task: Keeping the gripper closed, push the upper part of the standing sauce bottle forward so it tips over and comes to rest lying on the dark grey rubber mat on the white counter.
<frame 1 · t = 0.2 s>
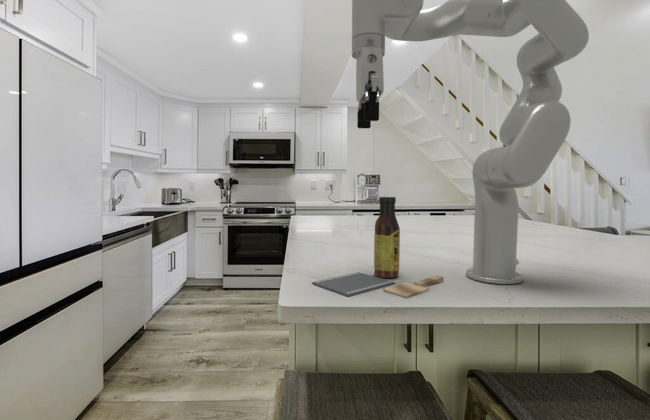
hand: (367, 124, 80), 37 cm above the countertop, tool pointing down, fingers open, 9 cm apart
mat: (353, 283, 80), on the countertop
sauce bottle: (386, 276, 87), on the countertop
turner: (416, 288, 77), on the countertop
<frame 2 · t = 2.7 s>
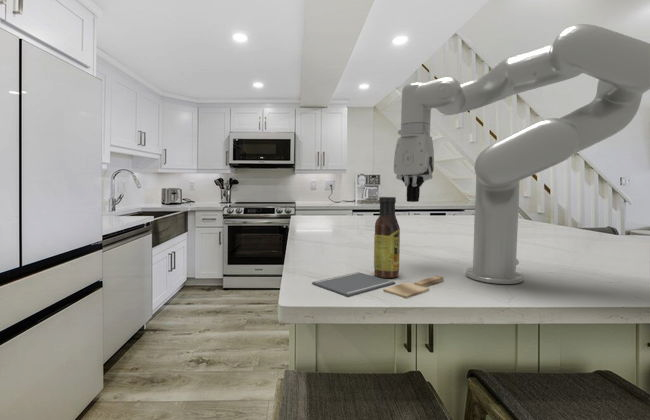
hand: (412, 201, 93), 18 cm above the countertop, tool pointing down, fingers closed
nothing on the countertop moved.
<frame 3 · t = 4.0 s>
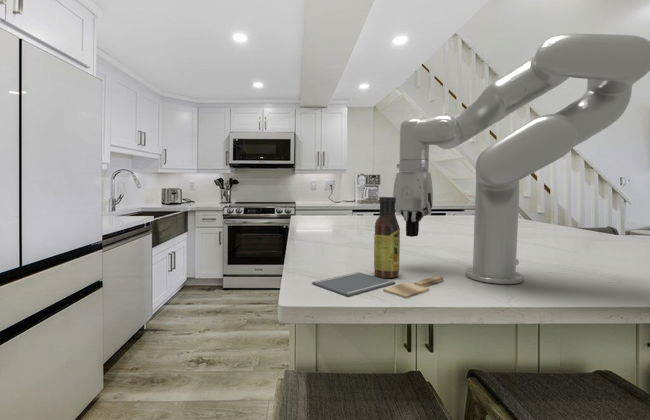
hand: (412, 235, 93), 9 cm above the countertop, tool pointing down, fingers closed
nothing on the countertop moved.
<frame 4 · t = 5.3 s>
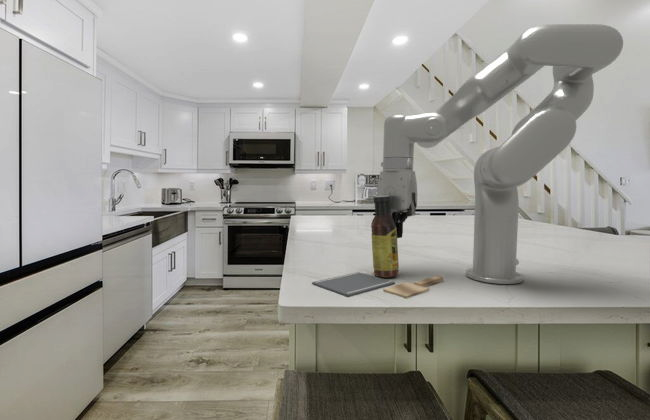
hand: (395, 237, 89), 9 cm above the countertop, tool pointing down, fingers closed
sauce bottle: (386, 275, 87), on the countertop, touching gripper
everything else where it was.
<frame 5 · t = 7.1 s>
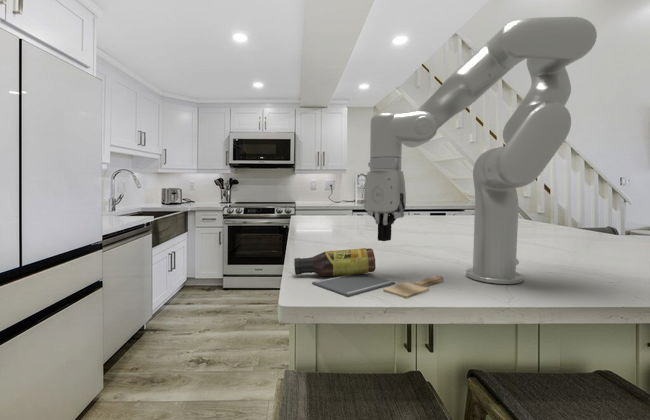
hand: (384, 240, 86), 9 cm above the countertop, tool pointing down, fingers closed
sauce bottle: (374, 259, 87), point 4 cm above the countertop, touching mat
everything else where it was.
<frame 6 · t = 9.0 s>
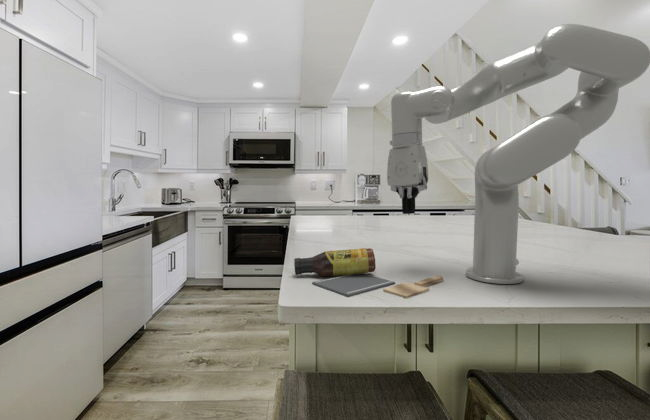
hand: (408, 213, 90), 15 cm above the countertop, tool pointing down, fingers closed
nothing on the countertop moved.
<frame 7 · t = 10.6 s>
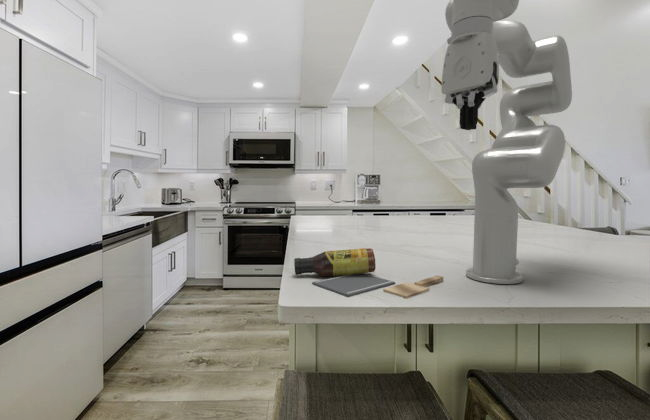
hand: (468, 128, 70), 34 cm above the countertop, tool pointing down, fingers closed
nothing on the countertop moved.
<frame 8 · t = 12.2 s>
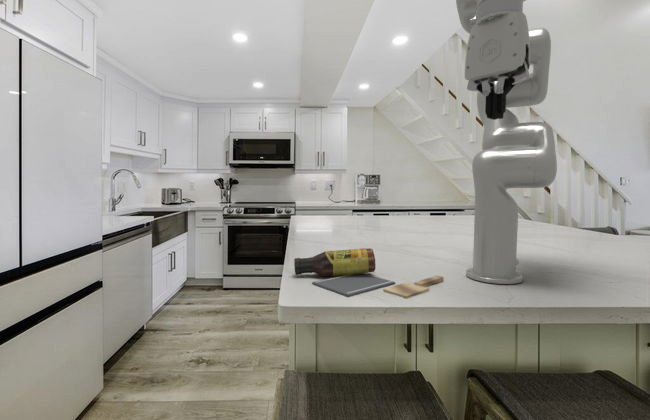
hand: (495, 118, 64), 35 cm above the countertop, tool pointing down, fingers closed
nothing on the countertop moved.
at the end: sauce bottle tilted 94°; sauce bottle inside the target area (11.2 cm from its centre), point 4.0 cm above the countertop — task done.
